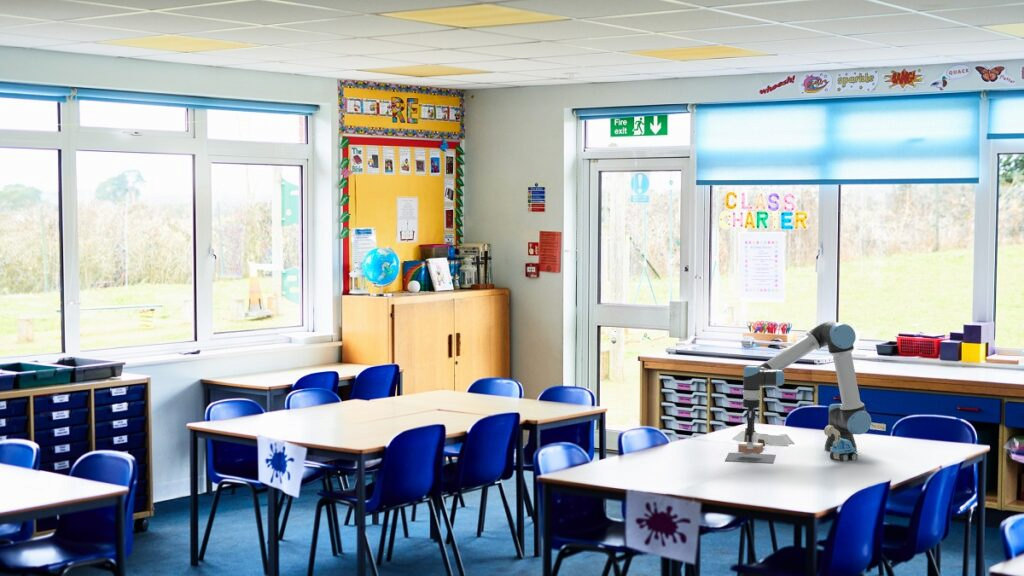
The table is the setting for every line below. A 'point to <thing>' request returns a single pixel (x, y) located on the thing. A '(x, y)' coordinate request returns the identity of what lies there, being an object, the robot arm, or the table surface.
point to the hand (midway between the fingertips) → (750, 447)
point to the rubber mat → (750, 458)
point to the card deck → (756, 449)
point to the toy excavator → (840, 446)
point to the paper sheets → (767, 437)
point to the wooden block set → (758, 439)
